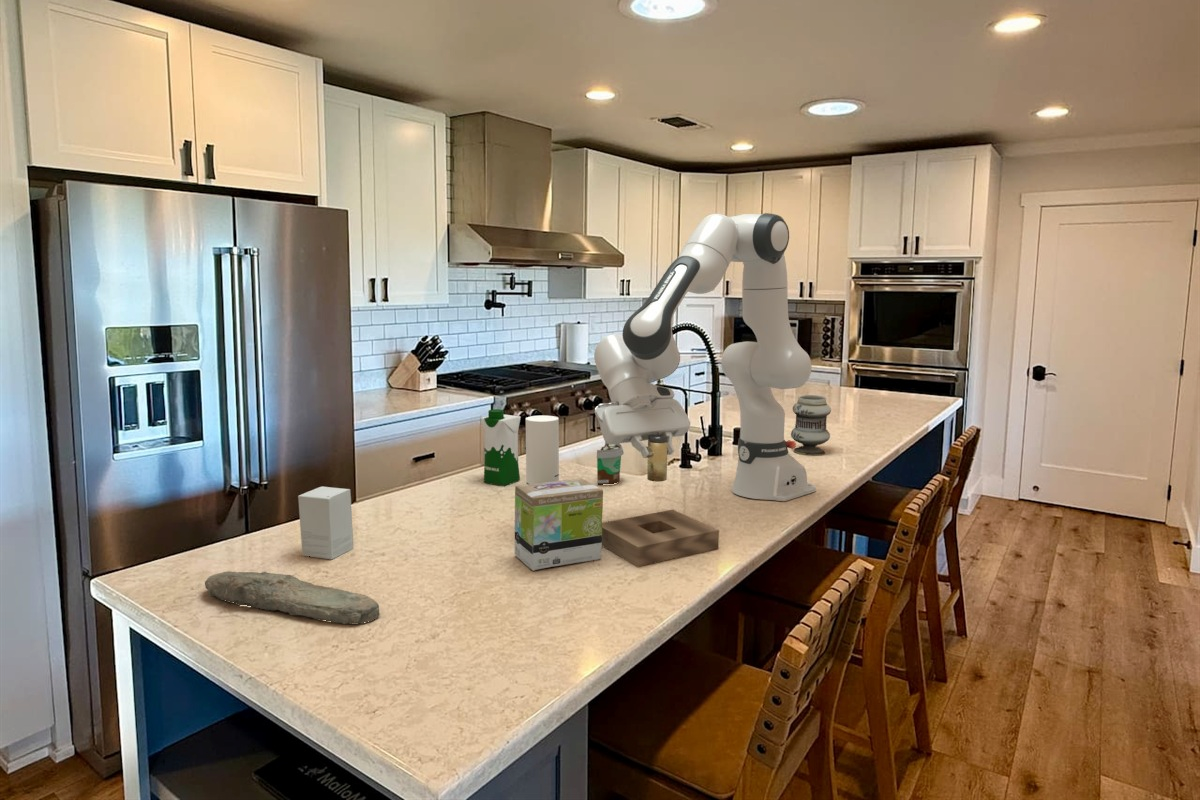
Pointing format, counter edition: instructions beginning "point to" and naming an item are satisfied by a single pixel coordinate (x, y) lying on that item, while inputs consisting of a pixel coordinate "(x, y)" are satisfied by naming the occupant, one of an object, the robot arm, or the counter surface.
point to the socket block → (658, 537)
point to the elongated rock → (292, 596)
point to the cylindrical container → (542, 449)
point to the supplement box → (326, 522)
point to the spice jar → (657, 458)
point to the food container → (609, 463)
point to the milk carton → (500, 447)
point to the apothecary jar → (811, 424)
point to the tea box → (558, 523)
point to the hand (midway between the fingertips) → (659, 454)
